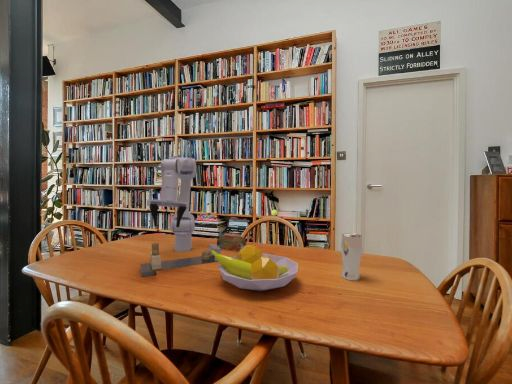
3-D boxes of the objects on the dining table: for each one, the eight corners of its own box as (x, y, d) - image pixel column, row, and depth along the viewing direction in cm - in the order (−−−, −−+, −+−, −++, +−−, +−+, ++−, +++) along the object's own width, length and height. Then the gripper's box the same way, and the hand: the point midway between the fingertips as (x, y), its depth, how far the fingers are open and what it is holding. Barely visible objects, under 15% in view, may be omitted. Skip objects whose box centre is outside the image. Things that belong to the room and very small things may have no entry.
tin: (216, 251, 125) (216, 234, 125) (220, 250, 128) (220, 232, 128) (244, 256, 118) (244, 237, 118) (247, 254, 121) (247, 236, 121)
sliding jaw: (150, 263, 103) (149, 241, 103) (158, 262, 104) (158, 240, 104) (152, 270, 96) (151, 246, 95) (161, 268, 97) (160, 245, 97)
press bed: (140, 267, 103) (140, 251, 102) (215, 257, 116) (215, 243, 115) (142, 276, 94) (141, 258, 93) (223, 264, 107) (223, 248, 106)
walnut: (200, 258, 110) (200, 249, 109) (209, 257, 111) (209, 248, 111) (203, 261, 106) (203, 251, 106) (212, 259, 108) (211, 250, 108)
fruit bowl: (299, 271, 100) (299, 241, 100) (294, 305, 74) (295, 264, 73) (227, 265, 106) (227, 237, 105) (199, 295, 79) (199, 257, 79)
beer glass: (351, 282, 89) (352, 238, 89) (336, 275, 96) (337, 234, 95) (365, 279, 93) (366, 236, 92) (350, 272, 99) (351, 232, 98)
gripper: (149, 185, 92) (146, 224, 89) (191, 189, 99) (189, 226, 95) (147, 189, 98) (144, 226, 95) (187, 193, 105) (185, 228, 101)
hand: (166, 226), depth 96 cm, fingers open, 7 cm apart
